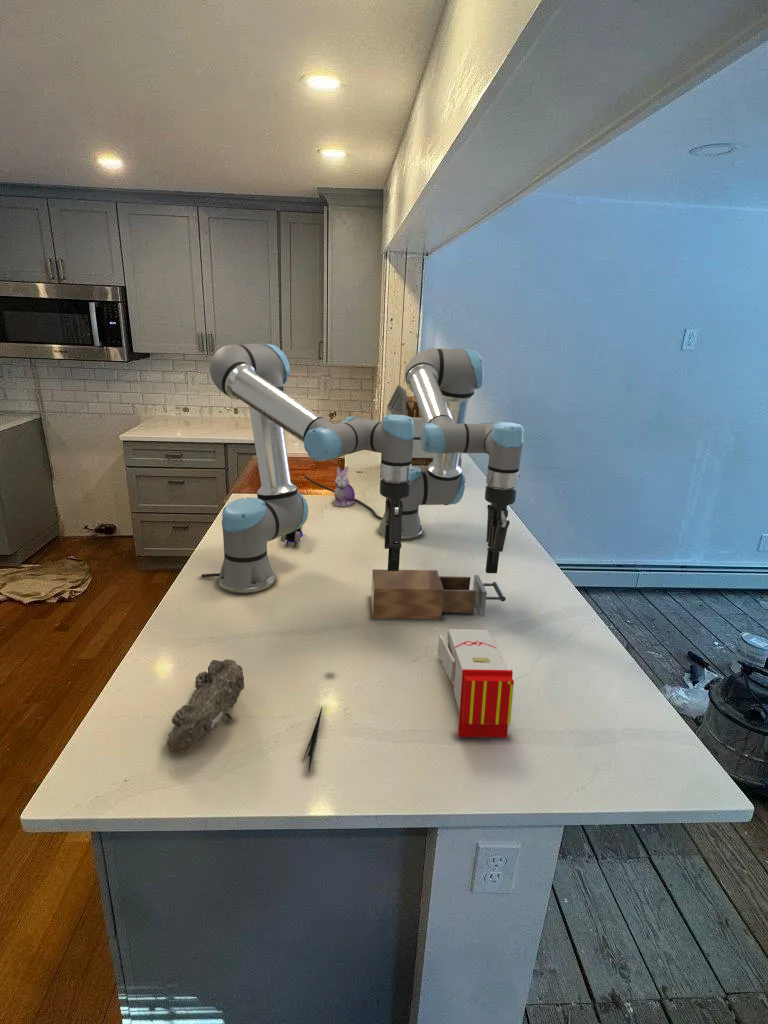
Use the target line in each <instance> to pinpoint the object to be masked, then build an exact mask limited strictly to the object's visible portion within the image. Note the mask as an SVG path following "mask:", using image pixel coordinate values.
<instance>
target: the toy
mask: <svg viewBox="0 0 768 1024" xmlns="http://www.w3.org/2000/svg"><path fill="white" fill-rule="evenodd" d="M446 640H447V643H446V641H445V639H444V636H443V635H442V634H439V637H438V646H437V656H438V657H439V659H440V661H441V663H442V666H443V668H444V670H445V672H446V674H447V677H448V679H449V681H450V684H451V687H452V690H453V693H454V697H455V701H456V705H457V708H458V711H459V714H458V715H459V716H458V730H457V731H458V732H457V737H458V738H508V731H509V726H510V725H511V717H512V707H513V697H514V696H513V695H514V684H515V680H514V679H513V673H514V671H513V670H512V669H508V667H507V665H506V662H505V661H504V659H503V658H502V655H501V653H500V651H499V649H498V647H497V643H496V639H495V637H494V635H493V634H491V632H490V631H489V629H467V628H466V629H465V628H463V629H461V628H460V629H459V628H448V630H447V639H446Z"/></svg>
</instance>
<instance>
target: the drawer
mask: <svg viewBox="0 0 768 1024" xmlns="http://www.w3.org/2000/svg"><path fill="white" fill-rule="evenodd" d="M439 577H440V580H441V583H442V586H443V589H444V592H443V603H442V613H468V614H469V613H470V614H471V613H473V614H474V613H475V609H477V612H478V614H479V616H485V614H486V604H487V601H488V600H490V601H493V600H494V601H500V602H503V603H504V602H505V601H506V596H505V594H504V592H503V591H502V588H501V587H500V585H499V583H498V582H497V581H492V583H491V582H483V581H482V579H481V577H480V575H479V574H474V576H473V584H472V589H471V588H470V587H471V579H472V578H471V576H451V575H450V576H449V575H448V576H447V575H444V576H441V575H439ZM486 587H493V589H494V591H495V592H496V595H497V596H487V595H488V591H487V589H486Z"/></svg>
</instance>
